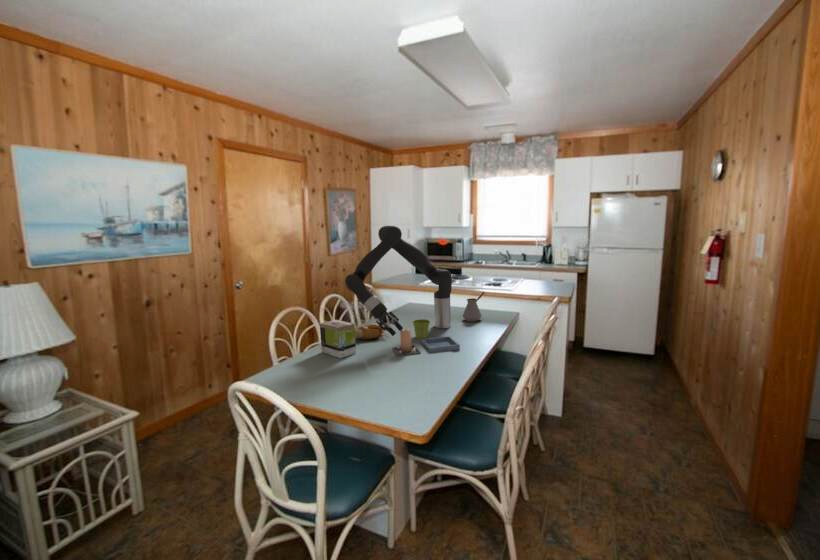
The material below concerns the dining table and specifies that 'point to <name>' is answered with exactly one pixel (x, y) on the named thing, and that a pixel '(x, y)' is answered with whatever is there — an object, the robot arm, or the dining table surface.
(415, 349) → the parts tray
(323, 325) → the tea box
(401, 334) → the tan rounded pillar
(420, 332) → the plant pot
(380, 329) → the nautilus
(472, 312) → the coffee pot
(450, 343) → the shallow square tray
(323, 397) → the dining table surface
